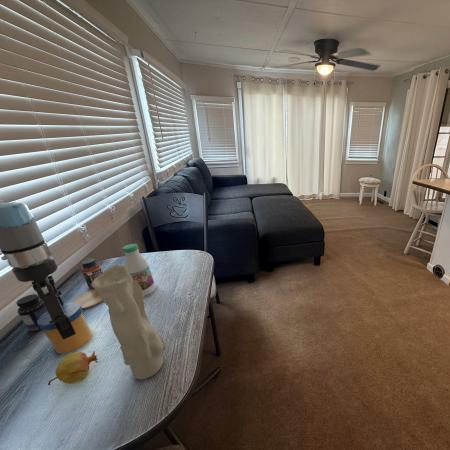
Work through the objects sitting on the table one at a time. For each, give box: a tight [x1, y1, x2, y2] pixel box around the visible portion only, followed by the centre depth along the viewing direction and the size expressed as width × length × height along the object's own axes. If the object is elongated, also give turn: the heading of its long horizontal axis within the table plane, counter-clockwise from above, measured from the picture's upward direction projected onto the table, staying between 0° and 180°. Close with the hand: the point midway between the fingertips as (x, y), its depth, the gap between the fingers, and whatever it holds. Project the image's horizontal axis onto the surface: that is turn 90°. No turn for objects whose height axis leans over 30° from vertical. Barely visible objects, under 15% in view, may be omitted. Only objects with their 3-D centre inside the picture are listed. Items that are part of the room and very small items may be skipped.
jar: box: [43, 313, 93, 354], centre depth 71 cm, size 8×8×10 cm
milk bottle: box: [122, 243, 156, 297], centre depth 91 cm, size 8×8×20 cm
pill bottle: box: [15, 293, 48, 333], centre depth 77 cm, size 6×6×11 cm
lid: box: [37, 302, 84, 331], centre depth 69 cm, size 9×9×2 cm
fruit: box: [47, 351, 99, 386], centre depth 61 cm, size 7×7×10 cm
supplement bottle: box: [80, 258, 104, 289], centre depth 98 cm, size 6×6×11 cm
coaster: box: [71, 288, 104, 310], centre depth 91 cm, size 12×12×1 cm
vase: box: [92, 264, 167, 380], centre depth 58 cm, size 9×8×30 cm
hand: (65, 325), depth 70 cm, fingers open, 12 cm apart
